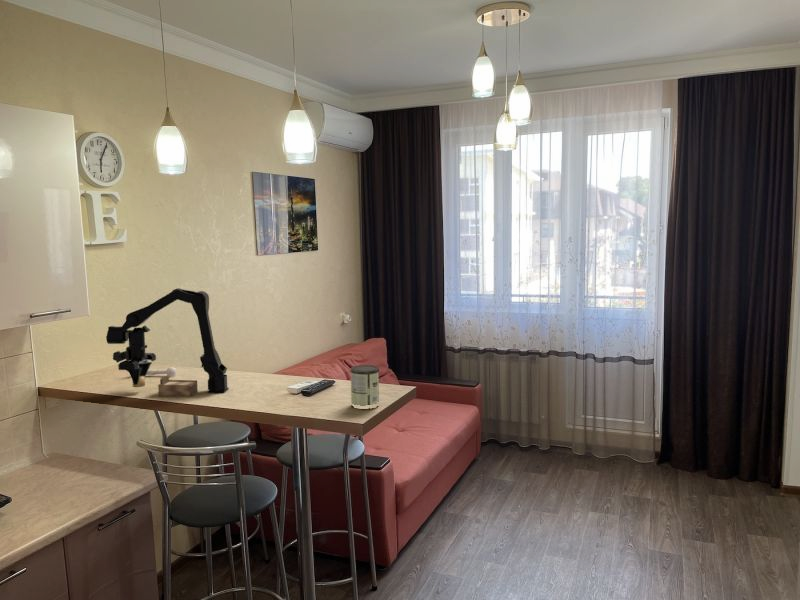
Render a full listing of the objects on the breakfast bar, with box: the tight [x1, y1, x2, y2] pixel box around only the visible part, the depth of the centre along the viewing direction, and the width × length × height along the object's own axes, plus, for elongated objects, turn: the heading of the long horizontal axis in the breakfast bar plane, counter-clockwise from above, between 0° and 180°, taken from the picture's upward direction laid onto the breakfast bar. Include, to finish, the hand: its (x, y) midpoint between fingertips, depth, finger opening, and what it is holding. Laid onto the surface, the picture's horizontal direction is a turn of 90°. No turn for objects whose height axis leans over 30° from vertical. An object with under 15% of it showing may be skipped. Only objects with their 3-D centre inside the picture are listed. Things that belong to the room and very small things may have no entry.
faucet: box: [146, 357, 177, 378], centre depth 262 cm, size 4×18×10 cm, turn 91°
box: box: [157, 379, 198, 398], centre depth 234 cm, size 12×8×4 cm, turn 87°
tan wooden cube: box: [131, 376, 146, 388], centre depth 235 cm, size 4×4×4 cm
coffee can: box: [350, 364, 380, 406], centre depth 219 cm, size 10×10×14 cm
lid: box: [160, 375, 196, 387], centre depth 234 cm, size 12×6×3 cm, turn 87°
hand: (138, 383), depth 235 cm, fingers closed on tan wooden cube, 4 cm apart
